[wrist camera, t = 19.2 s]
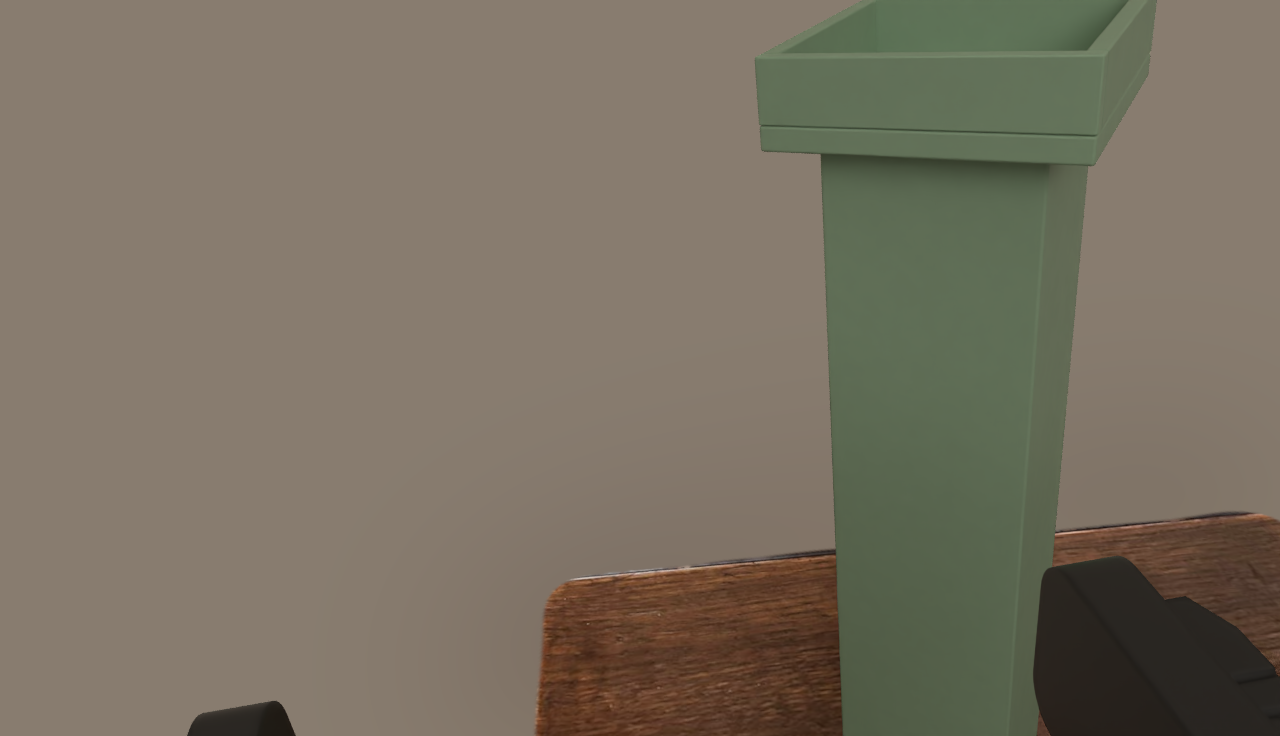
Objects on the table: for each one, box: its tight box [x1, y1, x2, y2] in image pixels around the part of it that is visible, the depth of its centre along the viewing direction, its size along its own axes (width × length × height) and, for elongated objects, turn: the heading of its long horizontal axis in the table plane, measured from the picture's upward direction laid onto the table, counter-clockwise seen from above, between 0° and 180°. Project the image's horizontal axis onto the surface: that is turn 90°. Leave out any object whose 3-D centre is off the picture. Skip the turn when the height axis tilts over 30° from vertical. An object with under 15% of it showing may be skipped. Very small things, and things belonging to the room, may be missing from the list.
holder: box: [755, 0, 1157, 736], centre depth 30 cm, size 7×7×31 cm
